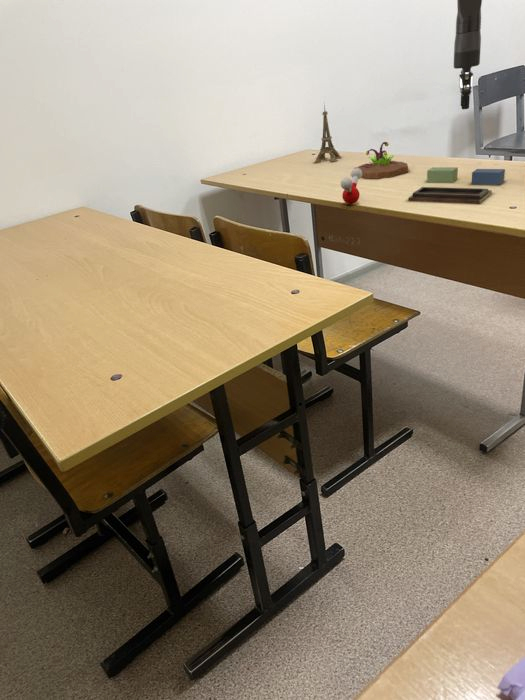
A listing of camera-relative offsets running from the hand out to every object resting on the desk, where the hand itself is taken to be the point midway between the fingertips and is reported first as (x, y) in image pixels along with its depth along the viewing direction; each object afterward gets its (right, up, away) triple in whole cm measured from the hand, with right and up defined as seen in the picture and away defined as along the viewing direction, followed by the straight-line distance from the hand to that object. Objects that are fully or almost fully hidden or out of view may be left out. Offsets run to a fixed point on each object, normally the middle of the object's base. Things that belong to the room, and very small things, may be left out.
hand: (464, 107), depth 168 cm
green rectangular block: (-1, -18, +18) cm, 25 cm away
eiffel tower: (-34, +11, +78) cm, 86 cm away
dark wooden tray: (-5, -29, -2) cm, 30 cm away
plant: (-17, -7, +41) cm, 45 cm away
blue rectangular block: (+10, -22, +7) cm, 25 cm away
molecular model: (-35, -29, +6) cm, 46 cm away
